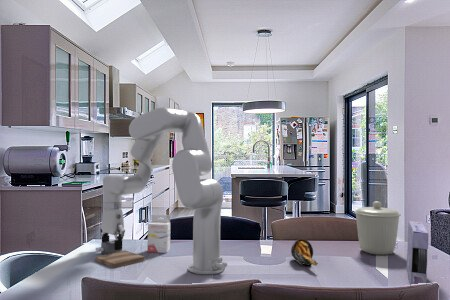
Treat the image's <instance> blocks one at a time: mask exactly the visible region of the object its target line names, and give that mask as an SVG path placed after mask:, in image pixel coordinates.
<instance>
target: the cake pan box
mask: <svg viewBox="0 0 450 300" xmlns="http://www.w3.org/2000/svg"><path fill="white" fill-rule="evenodd" d="M407 226H408V227H407V249H406V251H407V253H406V274H407V278H408V282H409V285H410V284H418V283H426V284H427V281H428V280H427V279H428V278H427V276H428V275H427V271H428V270H427V269H428V249H429V232H428V230H427V228H426V226H425V225H424V223H423V222H421V221H416V220H415V221H413V220H409V221H408V225H407Z"/></svg>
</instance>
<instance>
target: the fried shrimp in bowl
mask: <svg viewBox="0 0 450 300" xmlns="http://www.w3.org/2000/svg"><path fill="white" fill-rule="evenodd" d="M290 253H291V256H292V257H293V258H294V260H295V261H296V262H297V263H298V264H300V265H301V266H303V265H305V266H311V265H313V266H315V267H316V266H318V264H319V262H317V261H316V260H315V259H313V256H314V249H313V246H312V244H311V242H309V240H308V239H306V238H298V239H297V240H295V241H294V242H293V244H292V246H291V249H290Z"/></svg>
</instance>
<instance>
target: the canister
mask: <svg viewBox="0 0 450 300" xmlns="http://www.w3.org/2000/svg"><path fill="white" fill-rule="evenodd" d="M382 206H383V205H382V202H380V201H377V200H376V201H375V200H374V201H373V202H372V206H365V207H359V208H357V209H355V210H354V214H355V217H356V218H355V219H356V220H355V221H356V229H357V236H358V237H357V238H358V244H359V248H360V249H361V250H362V252H365V253H367V254H371V255H375V256H377V255H378V256H380V255H381V256H386V255H387V256H388V255H391V254H393V252H394V251H395V249H396V245H397V236H398V230H399V221H400V216H401V215H402V213H400V212H398V210H397V209H393V208H389V207H382Z"/></svg>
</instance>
